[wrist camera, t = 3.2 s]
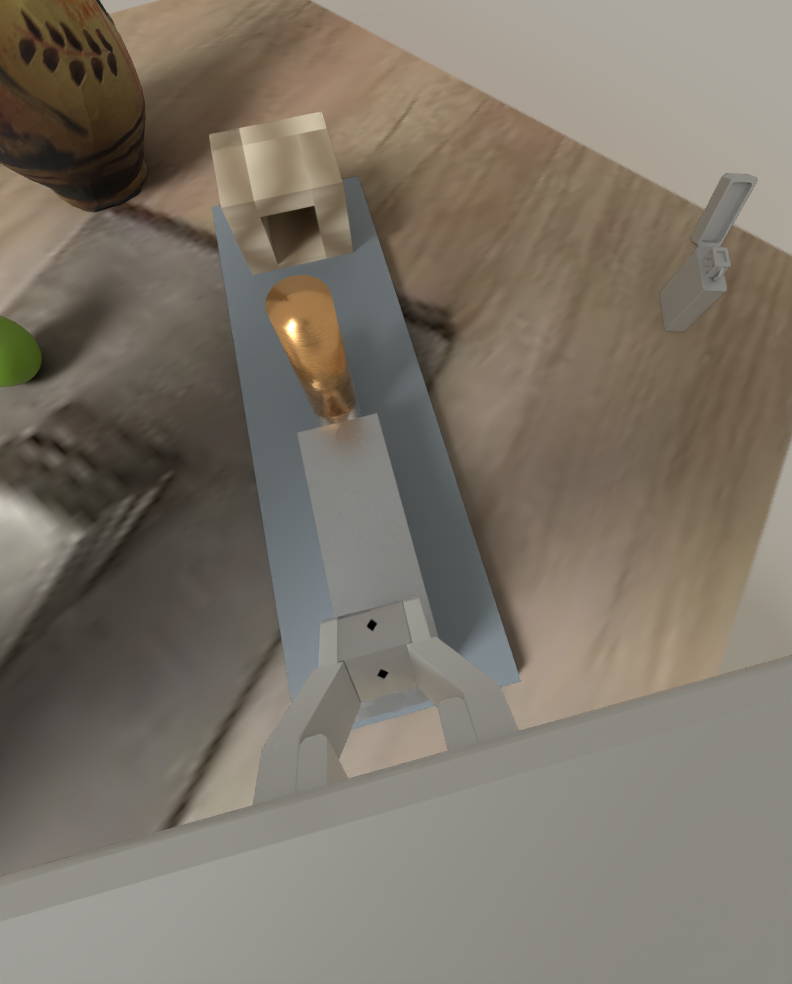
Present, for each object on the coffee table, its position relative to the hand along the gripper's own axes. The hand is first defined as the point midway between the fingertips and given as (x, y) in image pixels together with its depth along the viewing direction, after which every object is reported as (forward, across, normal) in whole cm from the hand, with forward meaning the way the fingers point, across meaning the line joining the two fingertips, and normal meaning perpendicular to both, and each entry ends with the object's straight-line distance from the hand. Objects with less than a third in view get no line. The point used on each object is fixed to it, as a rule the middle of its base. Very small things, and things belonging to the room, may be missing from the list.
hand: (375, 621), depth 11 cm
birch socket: (+34, +1, -14) cm, 37 cm away
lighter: (+25, -29, -3) cm, 38 cm away
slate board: (+22, +1, -1) cm, 22 cm away
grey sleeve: (+12, 0, +7) cm, 14 cm away
